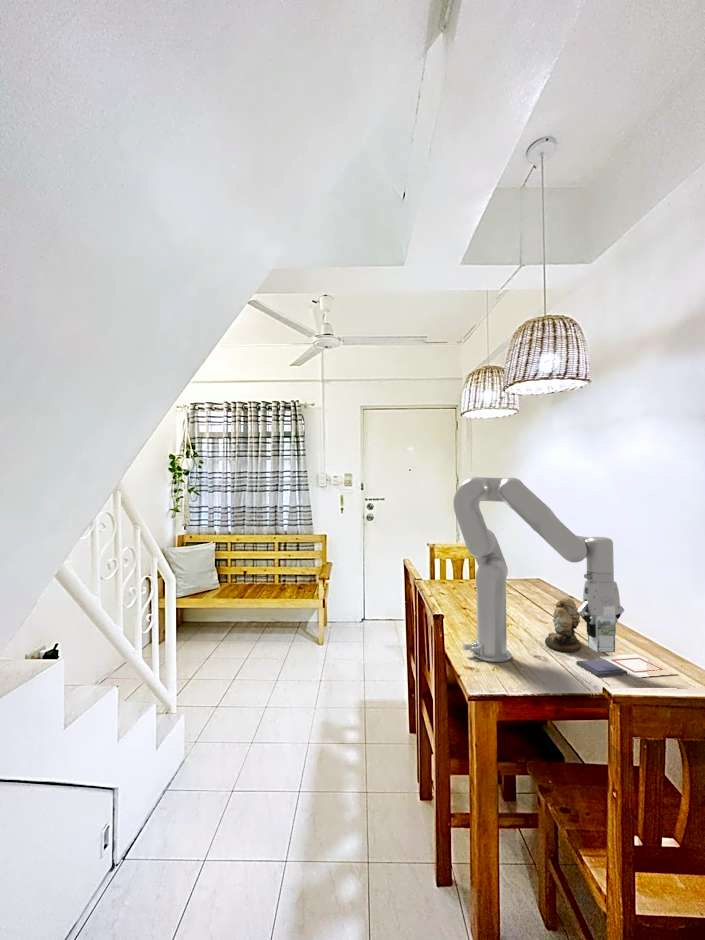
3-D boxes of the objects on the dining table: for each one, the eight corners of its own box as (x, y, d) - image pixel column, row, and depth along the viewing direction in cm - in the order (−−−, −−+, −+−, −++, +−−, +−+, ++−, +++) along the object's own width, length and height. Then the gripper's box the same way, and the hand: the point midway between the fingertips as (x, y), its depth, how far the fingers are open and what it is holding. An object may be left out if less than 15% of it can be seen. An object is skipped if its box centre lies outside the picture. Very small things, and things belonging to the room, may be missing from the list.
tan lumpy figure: (545, 635, 187) (545, 590, 187) (579, 639, 182) (579, 593, 182) (544, 650, 170) (544, 600, 170) (582, 655, 165) (582, 604, 166)
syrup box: (605, 646, 156) (604, 600, 156) (616, 653, 150) (615, 605, 150) (587, 646, 156) (587, 600, 156) (597, 653, 150) (596, 605, 150)
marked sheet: (637, 678, 146) (637, 676, 146) (599, 657, 163) (599, 656, 163) (678, 674, 149) (678, 673, 149) (636, 654, 165) (636, 653, 165)
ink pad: (597, 676, 147) (597, 672, 147) (576, 664, 157) (576, 660, 157) (626, 674, 149) (626, 670, 149) (604, 662, 159) (604, 658, 159)
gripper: (582, 580, 148) (583, 641, 148) (633, 578, 151) (634, 637, 151) (567, 576, 156) (568, 633, 155) (616, 573, 159) (617, 630, 158)
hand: (601, 634), depth 153 cm, fingers closed on syrup box, 6 cm apart
